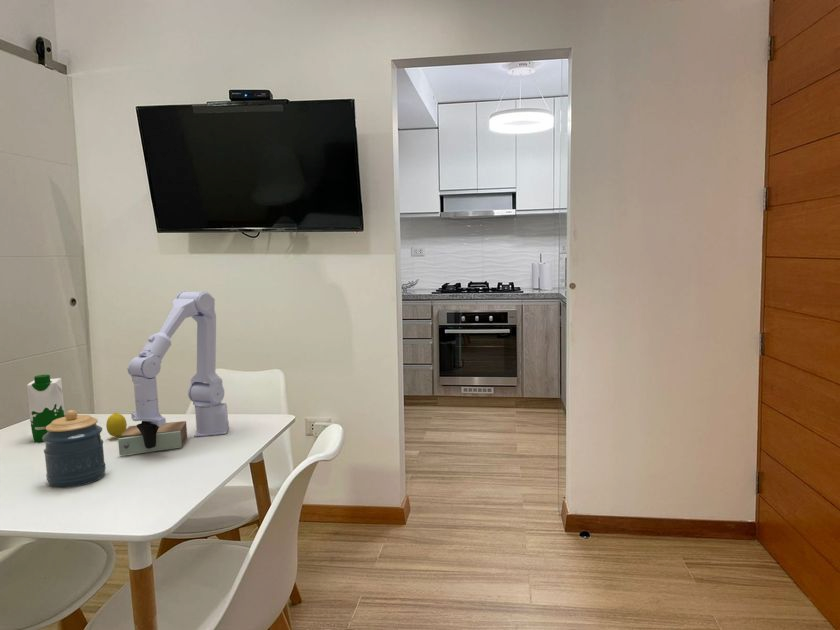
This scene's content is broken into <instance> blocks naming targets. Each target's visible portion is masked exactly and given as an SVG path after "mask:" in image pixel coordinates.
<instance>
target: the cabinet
mask: <svg viewBox="0 0 840 630" xmlns="http://www.w3.org/2000/svg"><path fill="white" fill-rule="evenodd" d="M187 429H188V428H187V421H186V420H183V421H172V422H166V425H163V426H159V428H158V431H157V434H158V433H166V432H175V431H181V444H182V447H183V446H184V444H185V443H186V440H187V438H188V430H187ZM134 436H142V434H141V432H140V430H139V429H138V428H137V424H136V425H129V426H127V428H126V430H125V431H124V432H123V433H122V435H121V436H120V437H119V438H126V437H134Z"/></svg>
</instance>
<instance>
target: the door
mask: <svg viewBox="0 0 840 630" xmlns="http://www.w3.org/2000/svg"><path fill="white" fill-rule="evenodd" d="M117 440H118V441H117V442H118V453H119V456H127V455H133V454H141V453H149V452H157V451H158V452H159V451H164V450H171V449H181V448H183V446H182V444H181V431H175V432H166V433H158V434H156V446H155V447H153V448H150V449H148V448H146V447H145V444H144V439H143V436H134V437H126V438H120V437H119V438H117Z"/></svg>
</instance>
